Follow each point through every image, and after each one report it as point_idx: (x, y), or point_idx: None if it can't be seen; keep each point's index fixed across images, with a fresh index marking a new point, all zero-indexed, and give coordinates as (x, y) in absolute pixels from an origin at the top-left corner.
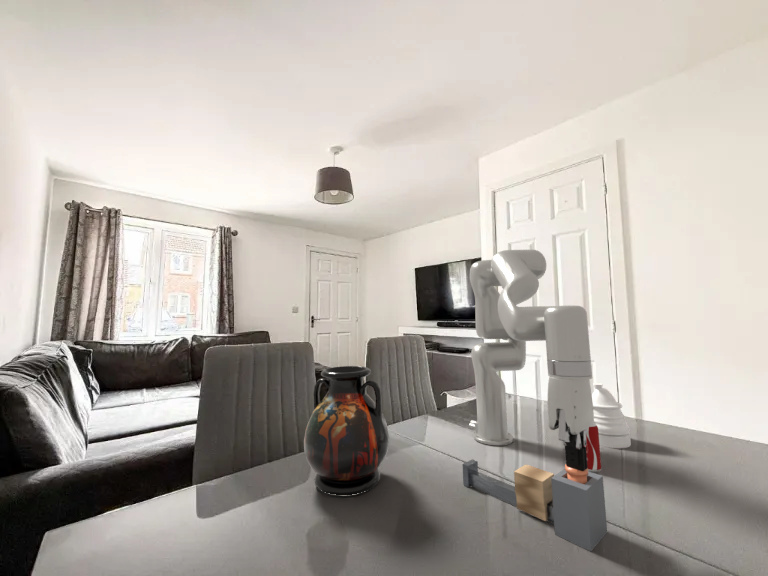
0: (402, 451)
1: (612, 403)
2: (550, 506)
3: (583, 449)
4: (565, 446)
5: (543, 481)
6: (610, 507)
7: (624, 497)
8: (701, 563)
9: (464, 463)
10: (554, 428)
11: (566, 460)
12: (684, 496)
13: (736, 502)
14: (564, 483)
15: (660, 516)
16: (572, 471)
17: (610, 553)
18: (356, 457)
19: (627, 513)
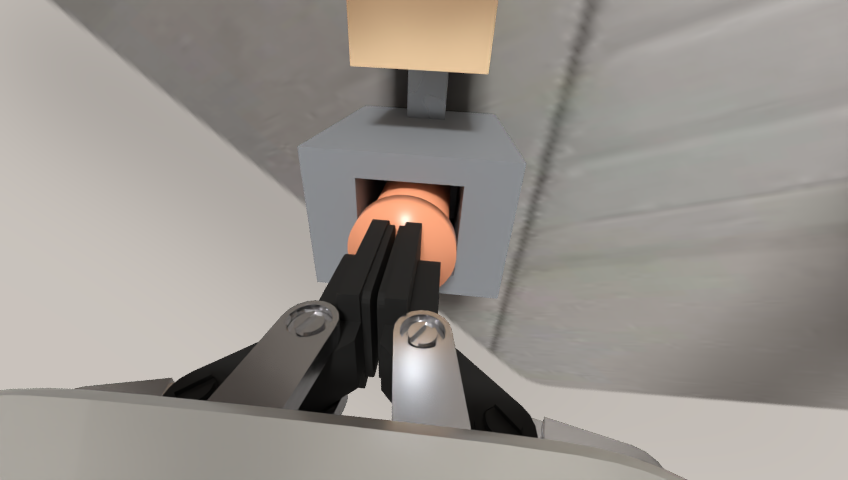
0: None
1: None
2: (410, 74)
3: (359, 384)
4: (343, 288)
5: (363, 66)
6: (632, 183)
7: (732, 201)
8: (487, 335)
9: None
10: (100, 393)
11: (366, 234)
12: (809, 312)
13: (811, 381)
14: (306, 207)
15: (644, 280)
16: (349, 248)
17: None
18: None
19: (617, 223)
